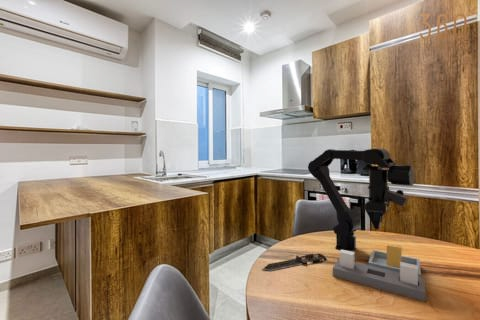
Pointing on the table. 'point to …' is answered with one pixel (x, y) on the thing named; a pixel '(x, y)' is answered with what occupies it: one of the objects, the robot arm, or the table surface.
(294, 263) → the black knife
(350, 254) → the fuse left
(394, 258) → the block
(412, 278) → the block
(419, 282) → the fuse holder
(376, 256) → the tray
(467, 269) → the table surface
